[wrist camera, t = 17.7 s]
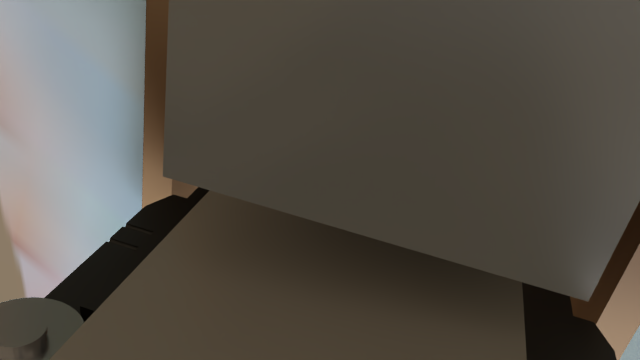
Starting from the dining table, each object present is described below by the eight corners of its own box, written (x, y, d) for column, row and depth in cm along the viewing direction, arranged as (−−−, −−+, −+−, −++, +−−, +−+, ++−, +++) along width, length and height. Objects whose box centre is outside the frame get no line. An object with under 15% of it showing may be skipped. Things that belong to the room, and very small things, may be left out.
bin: (238, -369, 9) (156, -449, 7) (882, -281, 8) (1036, -348, 5) (192, 253, 15) (139, 316, 13) (550, 367, 13) (559, 459, 11)
